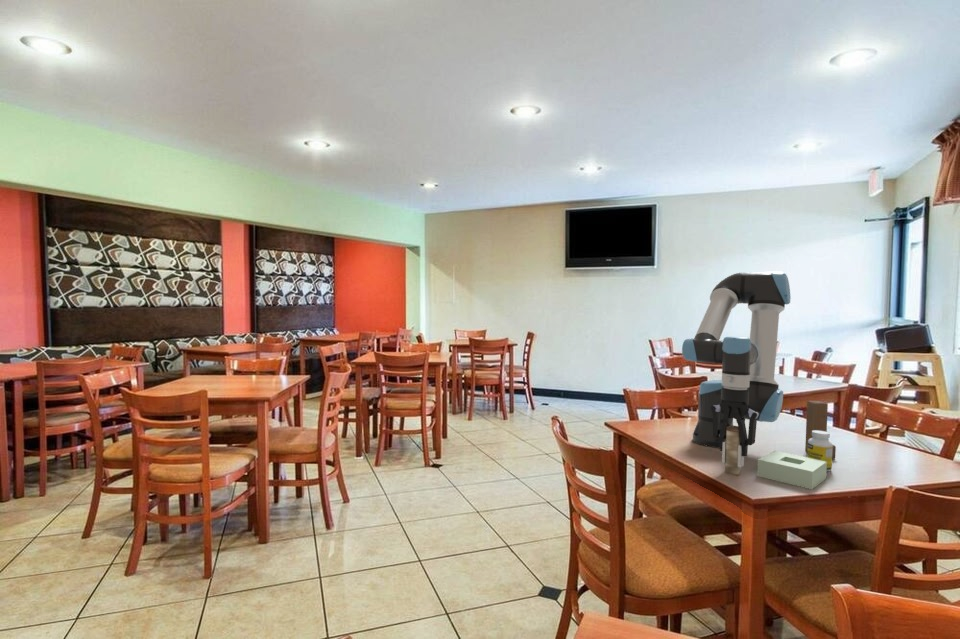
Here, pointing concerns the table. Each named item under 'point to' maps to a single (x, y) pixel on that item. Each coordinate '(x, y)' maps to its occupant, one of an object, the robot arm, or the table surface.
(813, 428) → the wooden block
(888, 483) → the table surface
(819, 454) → the pill bottle
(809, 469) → the socket block
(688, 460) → the table surface
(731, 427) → the dowel
